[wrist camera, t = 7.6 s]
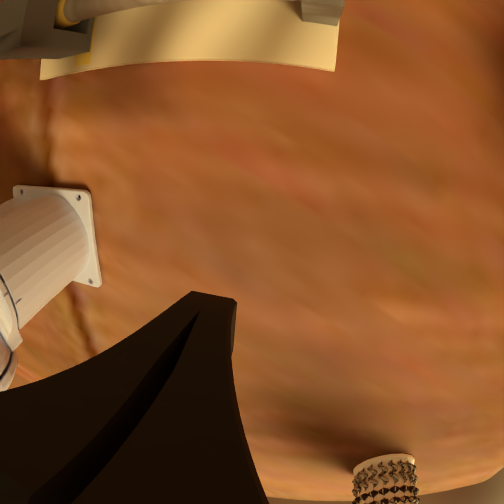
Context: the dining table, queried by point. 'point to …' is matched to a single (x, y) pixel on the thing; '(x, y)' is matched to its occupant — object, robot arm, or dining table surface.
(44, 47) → the grey notched block
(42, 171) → the dining table surface
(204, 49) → the pipe stand
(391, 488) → the decorative candle
